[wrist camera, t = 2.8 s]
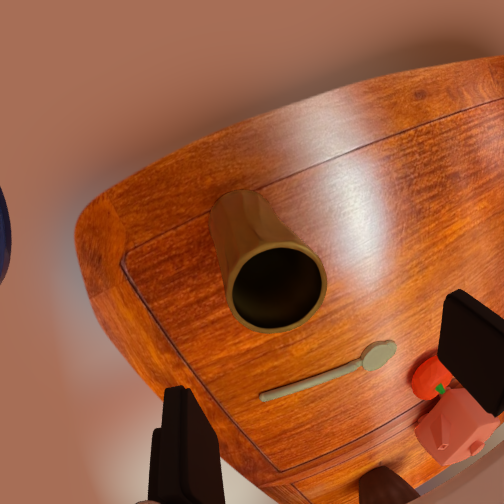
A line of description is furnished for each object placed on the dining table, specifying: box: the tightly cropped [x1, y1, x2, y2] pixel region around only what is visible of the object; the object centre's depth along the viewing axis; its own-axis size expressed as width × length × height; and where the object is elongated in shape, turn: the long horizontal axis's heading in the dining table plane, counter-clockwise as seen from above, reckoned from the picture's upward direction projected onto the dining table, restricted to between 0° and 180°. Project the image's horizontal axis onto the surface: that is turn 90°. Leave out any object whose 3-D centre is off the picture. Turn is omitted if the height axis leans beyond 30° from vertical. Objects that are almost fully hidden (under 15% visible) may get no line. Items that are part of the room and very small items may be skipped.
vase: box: [208, 190, 327, 334], centre depth 22 cm, size 6×6×14 cm
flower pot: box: [359, 466, 420, 504], centre depth 45 cm, size 15×15×16 cm
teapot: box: [414, 387, 500, 466], centre depth 40 cm, size 22×13×14 cm, turn 65°
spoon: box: [259, 340, 397, 402], centre depth 36 cm, size 19×4×1 cm, turn 104°
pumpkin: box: [412, 356, 453, 400], centre depth 38 cm, size 7×8×6 cm
